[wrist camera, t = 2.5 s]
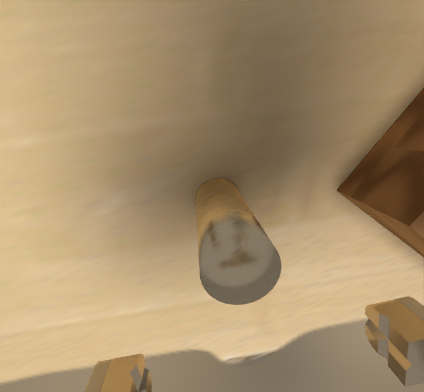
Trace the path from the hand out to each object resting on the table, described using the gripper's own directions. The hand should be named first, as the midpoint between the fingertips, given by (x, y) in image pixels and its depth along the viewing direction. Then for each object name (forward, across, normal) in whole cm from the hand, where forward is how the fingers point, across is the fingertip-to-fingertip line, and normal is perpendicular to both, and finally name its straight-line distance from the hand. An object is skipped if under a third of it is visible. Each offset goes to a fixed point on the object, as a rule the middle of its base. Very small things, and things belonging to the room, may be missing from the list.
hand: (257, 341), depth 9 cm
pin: (+14, 0, -1) cm, 14 cm away
